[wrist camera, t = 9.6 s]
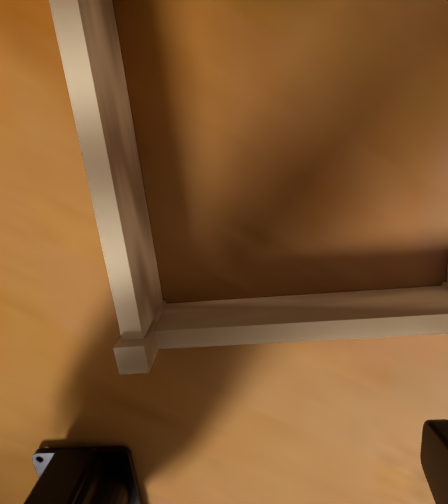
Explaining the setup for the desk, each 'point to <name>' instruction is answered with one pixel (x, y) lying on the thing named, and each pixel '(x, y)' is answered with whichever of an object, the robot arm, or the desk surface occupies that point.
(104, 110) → the frame
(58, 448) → the robot arm
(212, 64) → the desk surface
